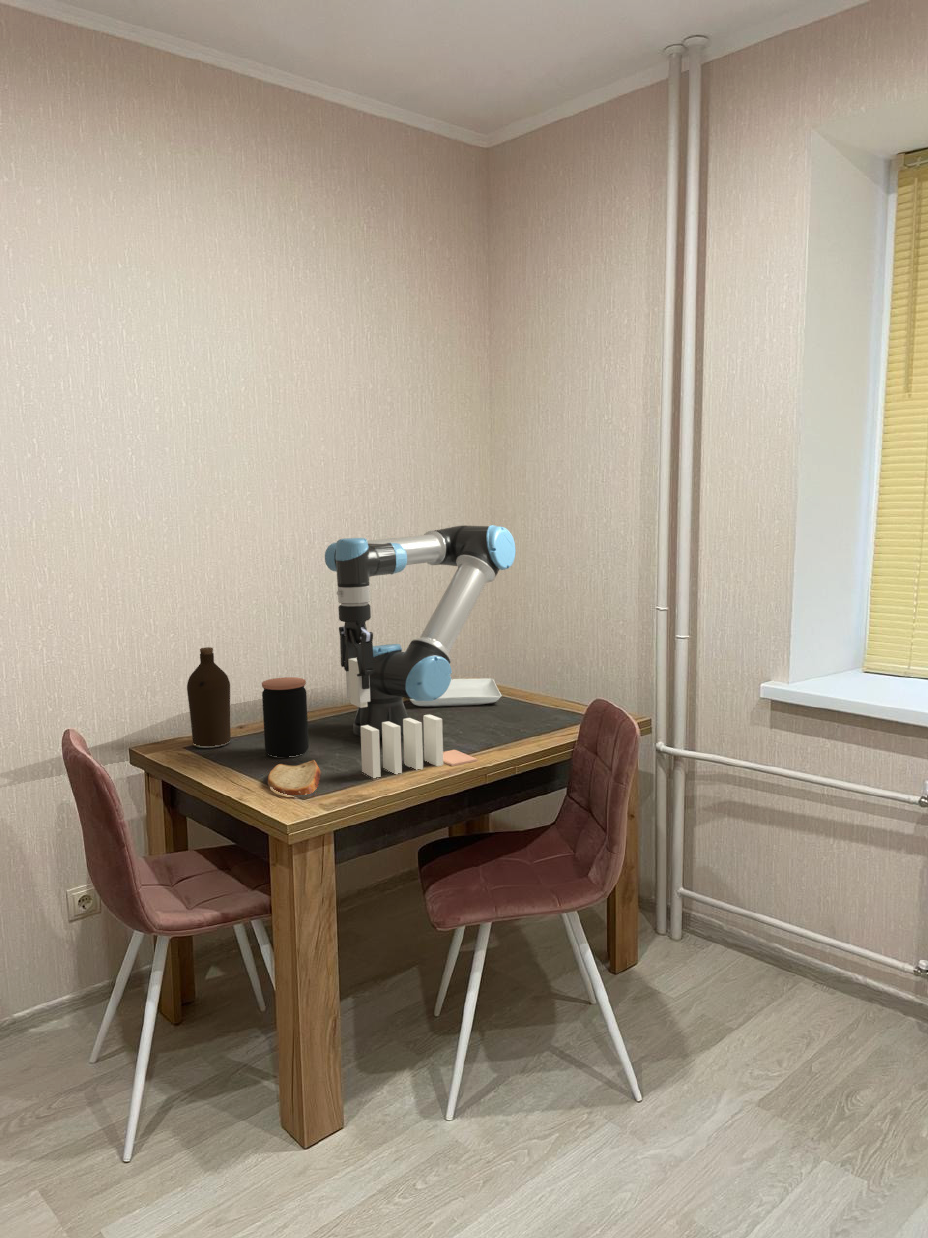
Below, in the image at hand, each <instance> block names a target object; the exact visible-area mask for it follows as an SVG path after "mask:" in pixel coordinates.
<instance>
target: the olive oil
mask: <svg viewBox="0 0 928 1238" xmlns="http://www.w3.org/2000/svg"><path fill="white" fill-rule="evenodd" d="M213 648H214V647H211V646H210V647H201V648H200V649H199V652H200V654H199V661H200V662H199V664H198V666H197V667H196V668H195V670H194V671H193V672H192V673H191V674H190V675H189V677H188V680H187V682H186V683H187V685H186V691H187V692H186V693H187V701H188V707H189V718H190V726H191V727H190V728H191V738H192V744H193V743H194V744H196V745H200V746H215V745H221V744H225V743H227V742H229V741H230V740H231V738H232V737H231V736H232V735H231V733H232V732H231V731H232V730H231V683H230V680H229V679H230V678H229V676H228V674H227V673H226V672H225V671H223V670H222V668H220V667H219V666H218V664H216V662H215V656H214V655H215V653H214V649H213ZM231 741H232V740H231Z"/></svg>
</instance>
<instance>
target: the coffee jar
mask: <svg viewBox="0 0 928 1238" xmlns="http://www.w3.org/2000/svg"><path fill="white" fill-rule="evenodd" d="M306 683H307V682H306V679H304V678H301V677H294V676H293V677H291V676H289V677H276V678H269V679H266V680H264V681H262V682H261V687H262V688H263V690H262V692H261V696H262V716H263V736H264V738H263V739H264V751H265V753H266V754H267V755H268V754H269V755H272V756H277V757H289V756H296V755H300V754H303V753H305V752H306V751H308V750H309V747H310V745H309V744H310V743H309V722H308V704H307V703H308V701H307V690H306V688H305V686H306V685H307V684H306ZM306 753H307V752H306ZM306 753H305V754H306Z"/></svg>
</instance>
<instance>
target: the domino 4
mask: <svg viewBox="0 0 928 1238" xmlns="http://www.w3.org/2000/svg"><path fill="white" fill-rule="evenodd" d="M423 748H424V745H423V723H422V722H421V721H418V720H416V719H414V718H412V717H408V718H406V719H403V758H404V759H403V762H404V764H405V766H406V767H408V768H410V767H412V768H414V769H416V770H415V771H418V770H417V769H421V770H423V769H424V754H423V752H424V749H423ZM412 768H411V769H412ZM414 769H413V770H414Z"/></svg>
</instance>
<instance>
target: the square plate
mask: <svg viewBox="0 0 928 1238" xmlns="http://www.w3.org/2000/svg"><path fill="white" fill-rule="evenodd" d="M501 697H502V693H501V692H500V690H499V687H498V686H497V684H496V681H495V680H494V678H489V677H488V678H485V677H483V678H451V682H450V685H449V687H448V689H447V690H446V692H445V693H444V694H443V695H442V696H441V697H439V698H438V699H436V700H433V701H416V700H413V699H409V701H410V702H411V703H412V704H413V705H414V706H417V707H430V708H432V707H433V708H434V707H453V706H454V707H455V706H456V707H459V706H480V705H485V704H493V703H495V702H498V701H499V699H500V698H501Z"/></svg>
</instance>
